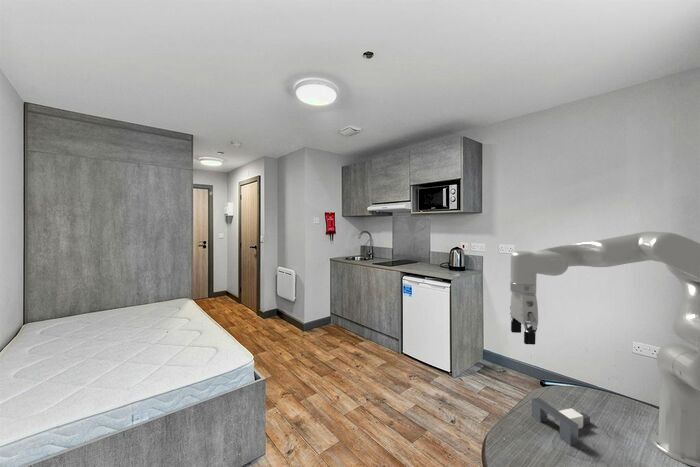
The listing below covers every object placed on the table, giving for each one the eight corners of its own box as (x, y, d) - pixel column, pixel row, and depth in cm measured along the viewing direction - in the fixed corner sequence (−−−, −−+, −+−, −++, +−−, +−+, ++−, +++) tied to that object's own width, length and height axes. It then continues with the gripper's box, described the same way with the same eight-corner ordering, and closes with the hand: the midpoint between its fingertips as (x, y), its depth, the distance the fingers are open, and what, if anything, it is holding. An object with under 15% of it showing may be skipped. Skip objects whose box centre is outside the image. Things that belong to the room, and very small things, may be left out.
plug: (580, 417, 100) (580, 406, 99) (592, 425, 96) (592, 413, 96) (552, 423, 97) (552, 412, 97) (563, 431, 93) (564, 420, 93)
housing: (538, 413, 102) (538, 397, 101) (578, 443, 88) (578, 424, 88) (531, 415, 101) (531, 398, 101) (570, 445, 87) (570, 426, 87)
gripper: (549, 294, 87) (548, 349, 88) (522, 282, 104) (522, 328, 105) (523, 294, 88) (522, 348, 89) (501, 282, 105) (500, 328, 106)
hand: (522, 337), depth 97 cm, fingers open, 9 cm apart
